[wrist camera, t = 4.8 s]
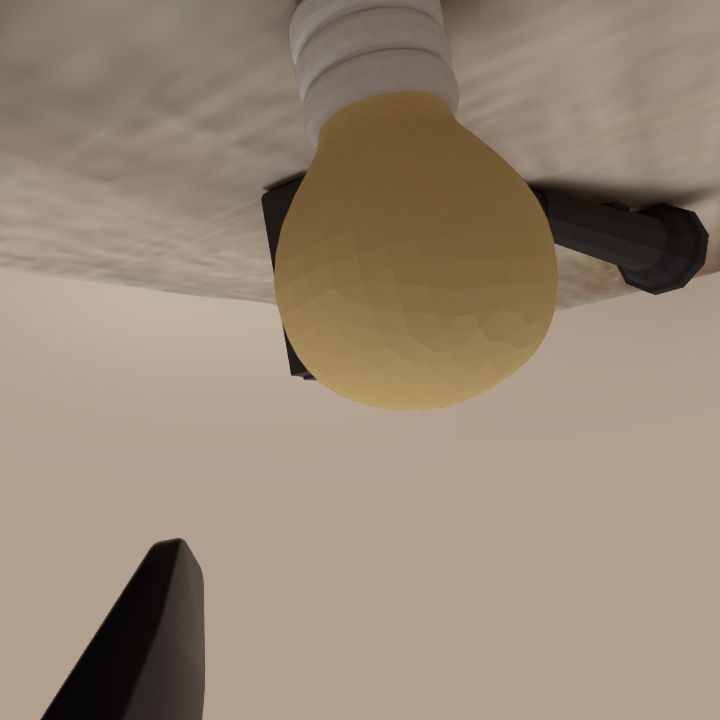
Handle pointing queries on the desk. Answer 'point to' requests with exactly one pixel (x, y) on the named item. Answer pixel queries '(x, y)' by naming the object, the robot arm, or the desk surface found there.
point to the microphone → (631, 239)
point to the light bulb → (404, 219)
